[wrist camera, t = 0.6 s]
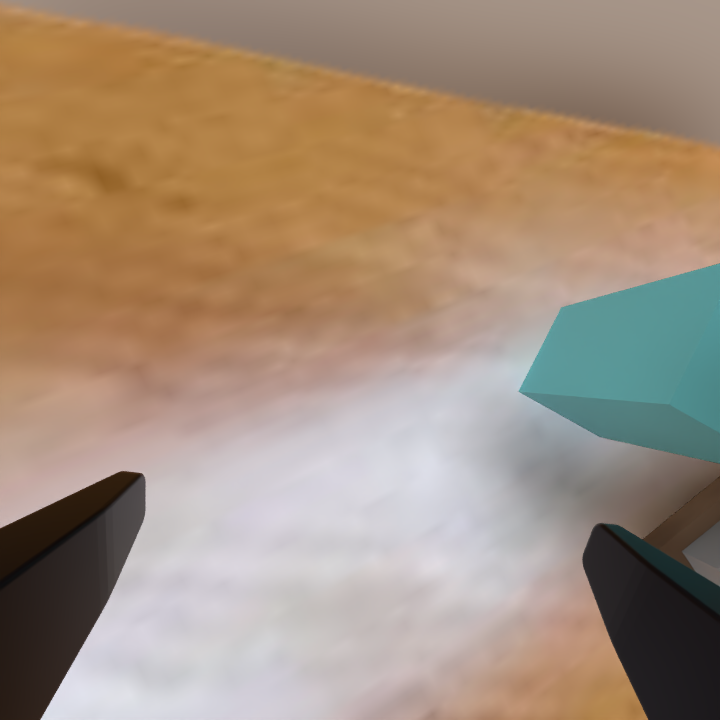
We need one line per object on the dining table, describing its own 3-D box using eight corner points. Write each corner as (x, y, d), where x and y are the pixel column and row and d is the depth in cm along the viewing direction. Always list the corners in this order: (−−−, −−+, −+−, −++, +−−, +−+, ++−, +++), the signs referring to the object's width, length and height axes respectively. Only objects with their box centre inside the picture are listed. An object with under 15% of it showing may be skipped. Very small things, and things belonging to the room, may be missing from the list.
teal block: (600, 436, 23) (807, 483, 13) (518, 391, 23) (669, 404, 13) (641, 353, 24) (872, 337, 14) (561, 307, 23) (739, 257, 13)
